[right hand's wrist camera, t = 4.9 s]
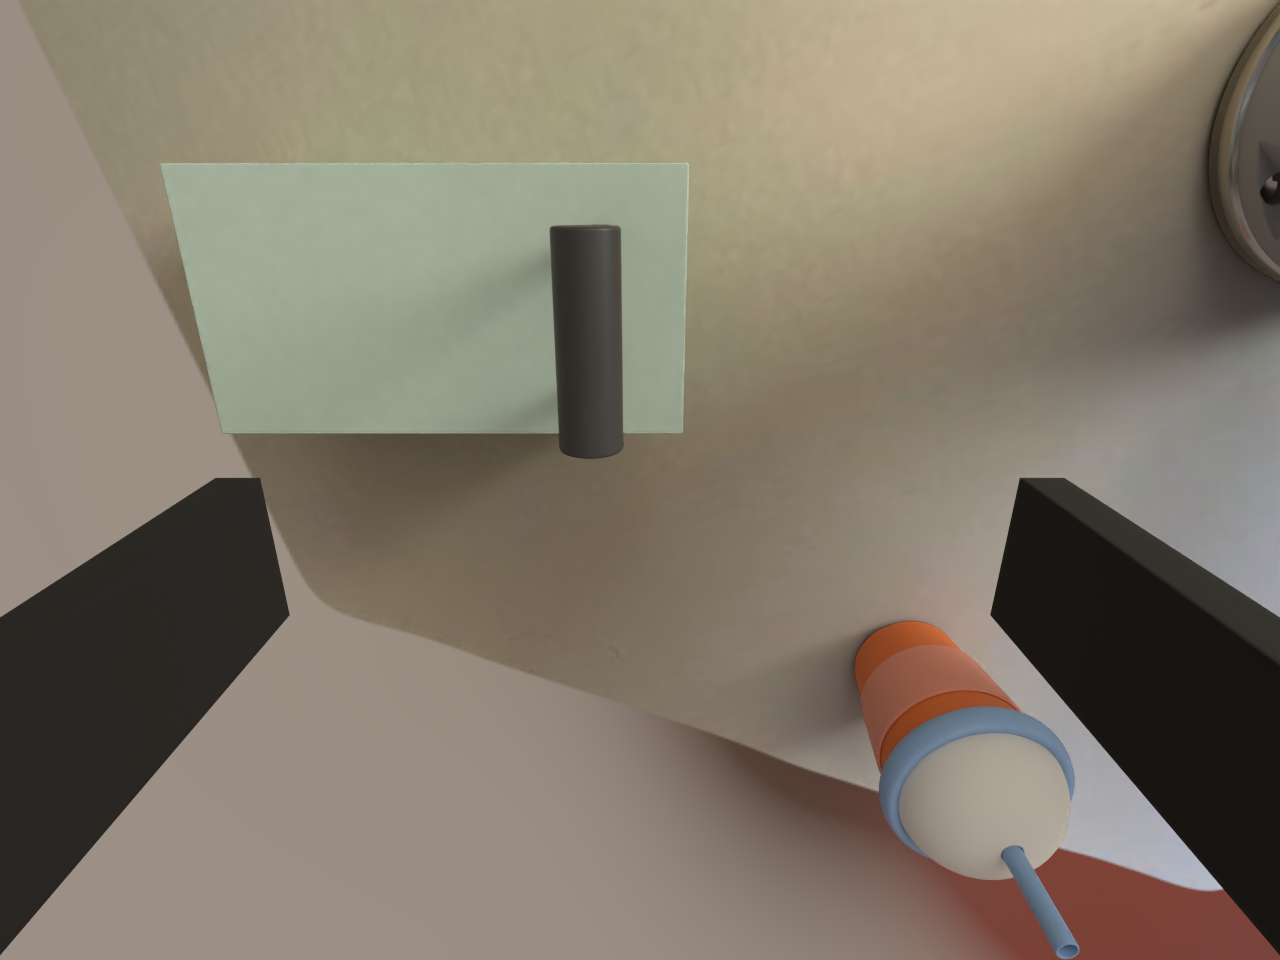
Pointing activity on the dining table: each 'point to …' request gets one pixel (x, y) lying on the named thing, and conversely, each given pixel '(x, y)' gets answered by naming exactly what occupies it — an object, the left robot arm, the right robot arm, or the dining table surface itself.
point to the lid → (439, 296)
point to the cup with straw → (964, 765)
